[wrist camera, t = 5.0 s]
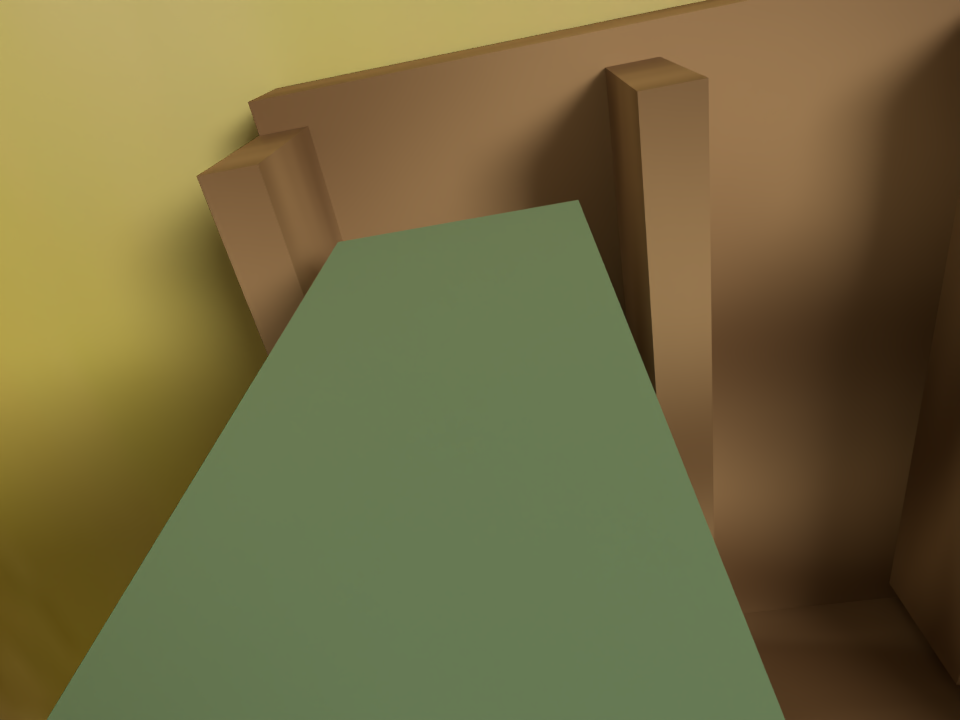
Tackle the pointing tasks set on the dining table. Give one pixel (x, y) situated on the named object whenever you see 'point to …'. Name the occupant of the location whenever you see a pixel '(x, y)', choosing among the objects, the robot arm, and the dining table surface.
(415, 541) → the green book
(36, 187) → the dining table surface
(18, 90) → the dining table surface
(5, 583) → the dining table surface
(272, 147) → the book rack
